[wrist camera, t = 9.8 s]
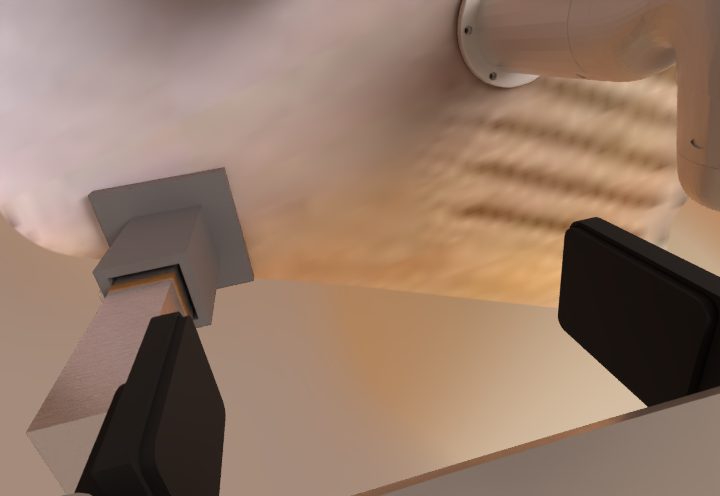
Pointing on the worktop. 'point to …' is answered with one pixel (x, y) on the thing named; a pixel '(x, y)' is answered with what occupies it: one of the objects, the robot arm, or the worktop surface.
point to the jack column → (102, 368)
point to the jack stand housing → (174, 234)
